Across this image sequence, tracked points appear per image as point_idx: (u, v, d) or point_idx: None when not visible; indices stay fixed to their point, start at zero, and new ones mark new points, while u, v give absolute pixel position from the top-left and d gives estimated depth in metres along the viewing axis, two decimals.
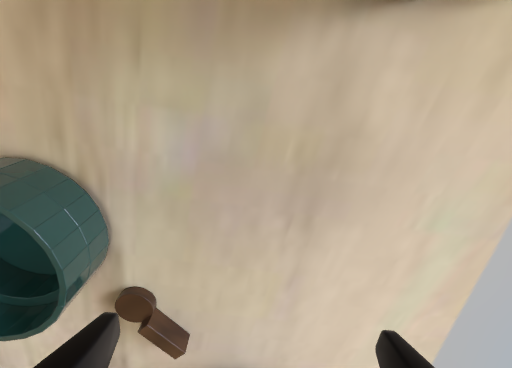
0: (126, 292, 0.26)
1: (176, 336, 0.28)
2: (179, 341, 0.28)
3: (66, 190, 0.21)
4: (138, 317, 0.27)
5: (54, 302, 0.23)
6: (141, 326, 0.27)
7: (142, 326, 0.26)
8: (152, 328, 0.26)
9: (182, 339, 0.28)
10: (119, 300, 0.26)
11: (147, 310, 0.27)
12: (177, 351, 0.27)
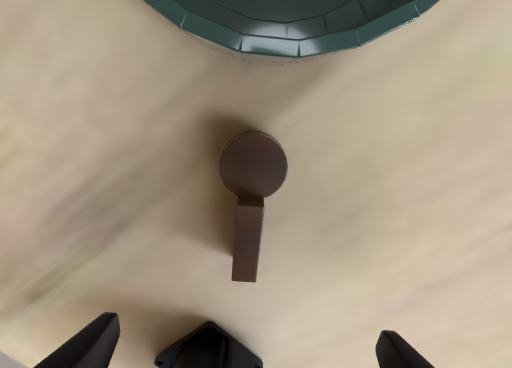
0: (270, 137, 0.14)
1: None
2: None
3: None
4: (241, 185, 0.15)
5: None
6: (244, 201, 0.15)
7: (248, 203, 0.15)
8: (262, 217, 0.15)
9: None
10: (251, 139, 0.14)
11: (267, 186, 0.15)
12: (249, 272, 0.16)
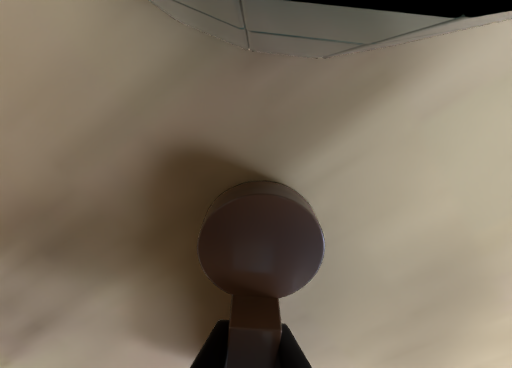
0: (293, 197, 0.07)
1: None
2: None
3: None
4: (239, 279, 0.08)
5: None
6: (243, 315, 0.08)
7: (250, 319, 0.08)
8: (278, 345, 0.08)
9: None
10: (257, 201, 0.07)
11: (285, 281, 0.08)
12: None
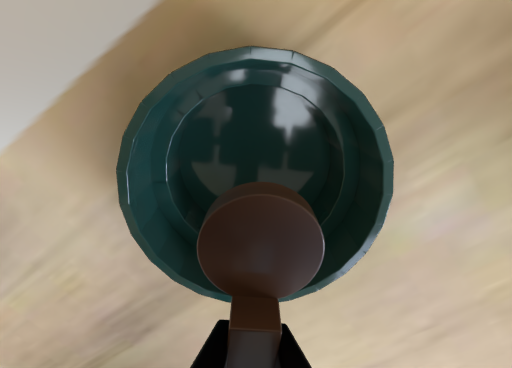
0: (293, 198, 0.07)
1: None
2: None
3: None
4: (239, 280, 0.08)
5: None
6: (243, 316, 0.08)
7: (250, 320, 0.08)
8: (278, 346, 0.08)
9: None
10: (257, 202, 0.07)
11: (285, 282, 0.08)
12: None
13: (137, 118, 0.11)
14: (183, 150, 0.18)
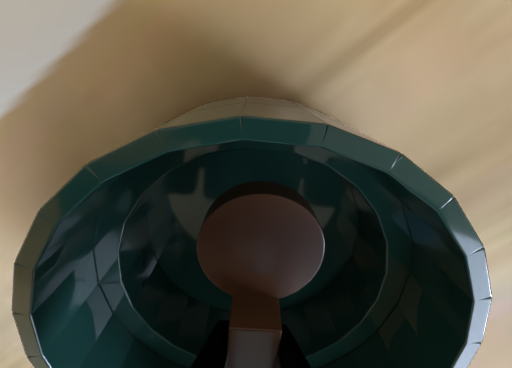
0: (293, 197, 0.07)
1: None
2: None
3: None
4: (239, 279, 0.08)
5: None
6: (243, 315, 0.08)
7: (250, 319, 0.08)
8: (278, 346, 0.08)
9: None
10: (257, 201, 0.07)
11: (285, 281, 0.08)
12: None
13: (35, 237, 0.06)
14: (152, 219, 0.13)
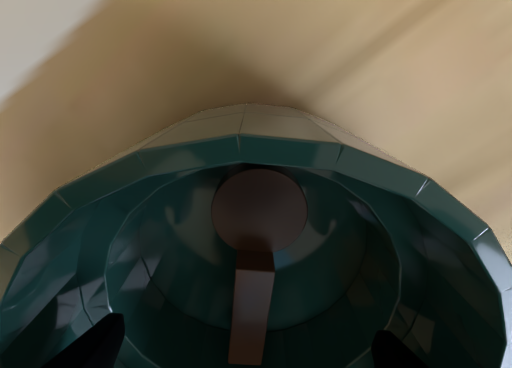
0: (283, 172, 0.10)
1: None
2: None
3: None
4: (242, 236, 0.11)
5: None
6: (246, 262, 0.10)
7: (251, 264, 0.10)
8: (272, 284, 0.10)
9: None
10: (256, 174, 0.10)
11: (278, 238, 0.11)
12: (253, 354, 0.12)
13: None
14: (145, 234, 0.12)
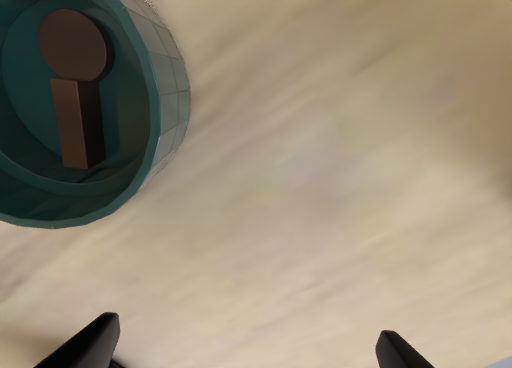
0: (84, 14, 0.15)
1: (93, 140, 0.17)
2: (92, 149, 0.17)
3: (184, 103, 0.16)
4: (64, 66, 0.15)
5: (42, 191, 0.16)
6: (61, 78, 0.15)
7: (63, 78, 0.15)
8: (78, 93, 0.15)
9: (96, 153, 0.17)
10: (62, 13, 0.14)
11: (90, 68, 0.15)
12: (79, 158, 0.16)
13: None
14: (6, 74, 0.16)
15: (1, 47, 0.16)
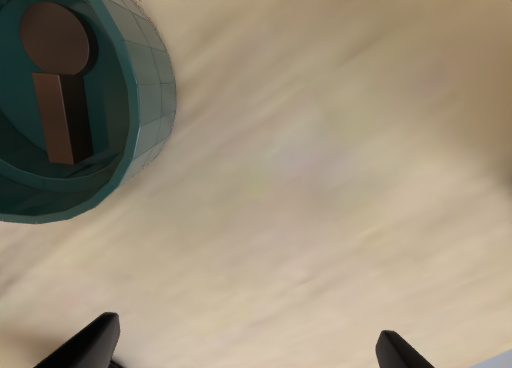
0: (65, 7, 0.15)
1: (79, 135, 0.17)
2: (78, 145, 0.17)
3: (169, 96, 0.16)
4: (47, 60, 0.15)
5: (28, 187, 0.16)
6: (43, 72, 0.15)
7: (46, 72, 0.15)
8: (61, 87, 0.15)
9: (82, 148, 0.17)
10: (43, 6, 0.14)
11: (73, 62, 0.15)
12: (65, 153, 0.16)
13: None
14: None
15: None
